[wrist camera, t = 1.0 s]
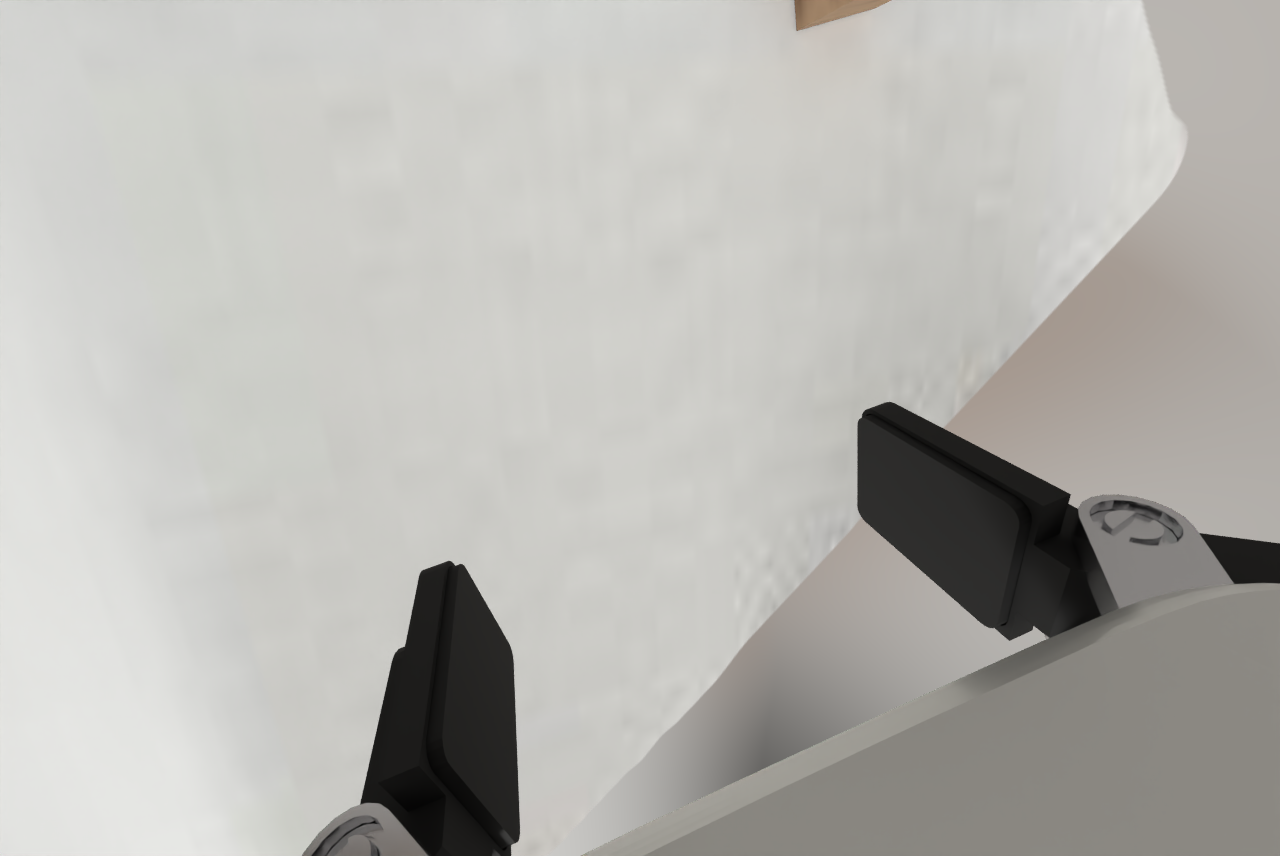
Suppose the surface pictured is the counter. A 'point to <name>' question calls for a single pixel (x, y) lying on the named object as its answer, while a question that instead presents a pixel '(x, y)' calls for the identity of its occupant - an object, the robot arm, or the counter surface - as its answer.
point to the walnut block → (829, 10)
